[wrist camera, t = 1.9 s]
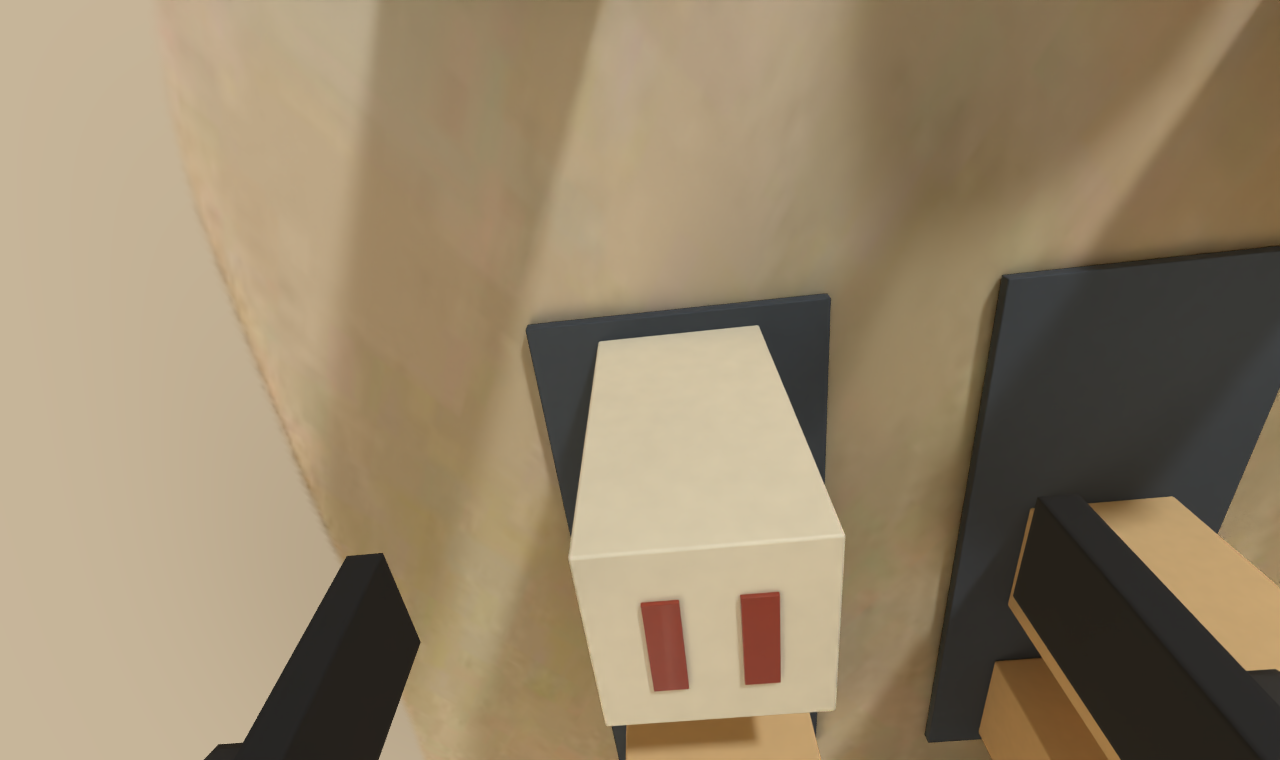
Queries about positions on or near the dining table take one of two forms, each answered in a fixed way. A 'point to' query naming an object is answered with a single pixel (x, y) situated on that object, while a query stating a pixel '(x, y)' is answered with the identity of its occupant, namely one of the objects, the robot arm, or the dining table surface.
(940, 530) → the dining table surface
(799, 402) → the left word board
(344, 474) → the dining table surface
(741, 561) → the cream block
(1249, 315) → the right word board
